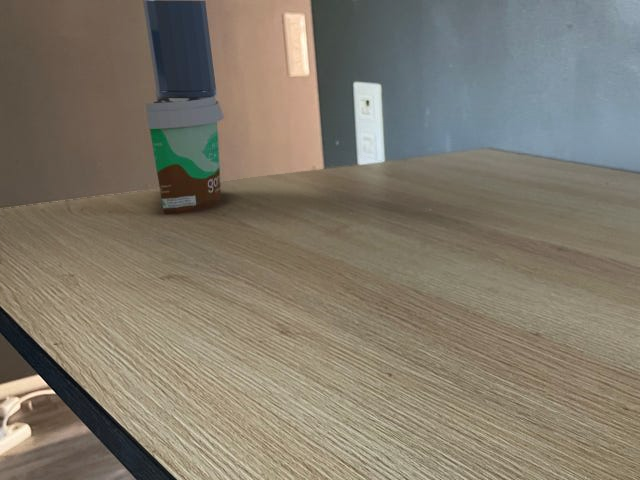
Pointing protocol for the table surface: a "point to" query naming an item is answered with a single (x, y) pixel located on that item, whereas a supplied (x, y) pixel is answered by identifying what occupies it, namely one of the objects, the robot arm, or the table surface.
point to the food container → (186, 152)
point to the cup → (180, 48)
